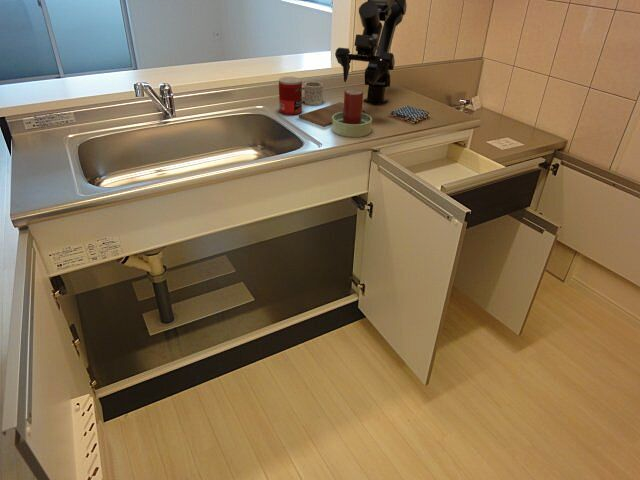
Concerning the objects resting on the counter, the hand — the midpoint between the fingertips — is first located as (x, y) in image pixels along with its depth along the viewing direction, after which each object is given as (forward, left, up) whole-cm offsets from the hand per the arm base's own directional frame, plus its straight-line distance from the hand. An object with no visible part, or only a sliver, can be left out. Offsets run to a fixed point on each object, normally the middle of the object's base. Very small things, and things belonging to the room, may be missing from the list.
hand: (358, 83), depth 140 cm
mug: (-4, -26, -13) cm, 30 cm away
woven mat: (-19, +9, -13) cm, 25 cm away
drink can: (+7, +4, -13) cm, 15 cm away
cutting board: (+1, -10, -13) cm, 16 cm away
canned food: (+8, -23, -13) cm, 28 cm away
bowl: (+7, +4, -13) cm, 15 cm away
